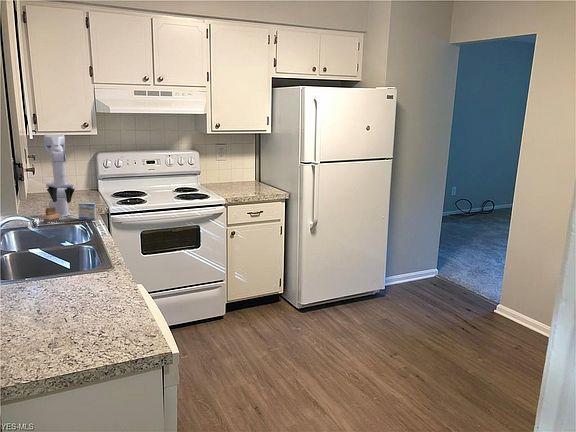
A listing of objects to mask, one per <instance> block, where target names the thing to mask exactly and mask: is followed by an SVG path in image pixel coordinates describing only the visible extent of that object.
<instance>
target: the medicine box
mask: <svg viewBox="0 0 576 432" xmlns="http://www.w3.org/2000/svg"><path fill="white" fill-rule="evenodd" d="M78 219H79V220H78V221H95V220H96V219H97V203H96V202H79V203H78Z"/></svg>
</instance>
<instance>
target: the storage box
mask: <svg viewBox="0 0 576 432" xmlns="http://www.w3.org/2000/svg"><path fill="white" fill-rule="evenodd" d="M59 220H60V218H56V219H51V220H49V219H43V223H44V222H50V223H51V222H55V223H57V222H56V221H59ZM59 222H60V221H59ZM50 223H49V224H50ZM51 224H52V223H51Z"/></svg>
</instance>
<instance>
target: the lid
mask: <svg viewBox="0 0 576 432" xmlns="http://www.w3.org/2000/svg"><path fill="white" fill-rule="evenodd" d="M44 210H45V213H44V214H41V215H40V218H41V219H43V220H44V219H49V220H51V219H56V218H59V219H60V218H62V217H61V214H56V212H55V207H51V208H49V207H46V208H45V209H44Z"/></svg>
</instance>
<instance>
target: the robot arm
mask: <svg viewBox="0 0 576 432" xmlns="http://www.w3.org/2000/svg"><path fill="white" fill-rule="evenodd" d="M43 141H44V148H45V151H46V152H48V153H49V155H50V162H51V166H52V173H53V181H52V182H49V183H45V188H47V189H46V191H47V192H48V194H49V199H50V200H49V202H48V208H51V207H55V212H56V214H61V217H60V218H63V217H69V216H73V213H70V212H69V204H70V203H71V202H72V196H73V194H74V193H75V190H76V184H75V183H72V184H71V183H68V182H67V171H66V161H67V155H66V152H65V149H66V146H65V145H66V139H65V135H64V133H63V134H46V133H45V134H44V135H43Z"/></svg>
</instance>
